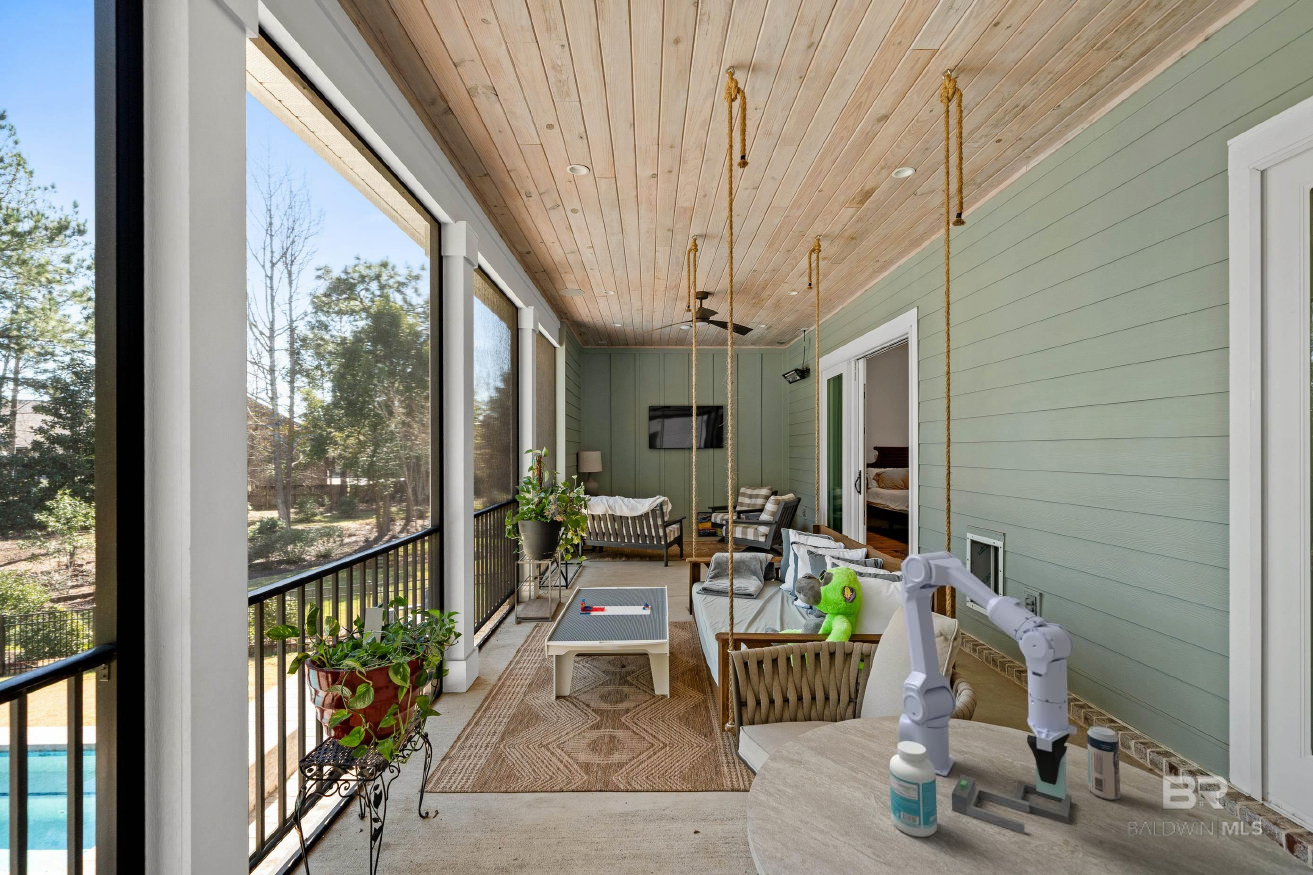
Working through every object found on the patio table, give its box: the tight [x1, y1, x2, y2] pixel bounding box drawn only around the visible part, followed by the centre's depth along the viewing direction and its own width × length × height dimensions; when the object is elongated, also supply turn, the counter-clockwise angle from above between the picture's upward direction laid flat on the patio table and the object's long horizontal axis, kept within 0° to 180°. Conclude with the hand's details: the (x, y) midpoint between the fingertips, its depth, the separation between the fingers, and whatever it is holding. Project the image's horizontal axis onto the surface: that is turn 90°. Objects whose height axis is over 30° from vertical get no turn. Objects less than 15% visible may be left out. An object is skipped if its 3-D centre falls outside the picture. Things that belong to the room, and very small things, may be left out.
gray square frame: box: [1012, 779, 1072, 825], centre depth 109 cm, size 8×8×1 cm
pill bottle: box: [889, 741, 938, 838], centre depth 103 cm, size 8×7×14 cm
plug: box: [1035, 752, 1068, 799], centre depth 102 cm, size 4×4×7 cm
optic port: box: [951, 773, 1031, 835], centre depth 107 cm, size 11×8×4 cm
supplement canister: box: [1086, 725, 1121, 801], centre depth 113 cm, size 5×5×12 cm
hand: (1049, 776), depth 102 cm, fingers closed on plug, 4 cm apart
